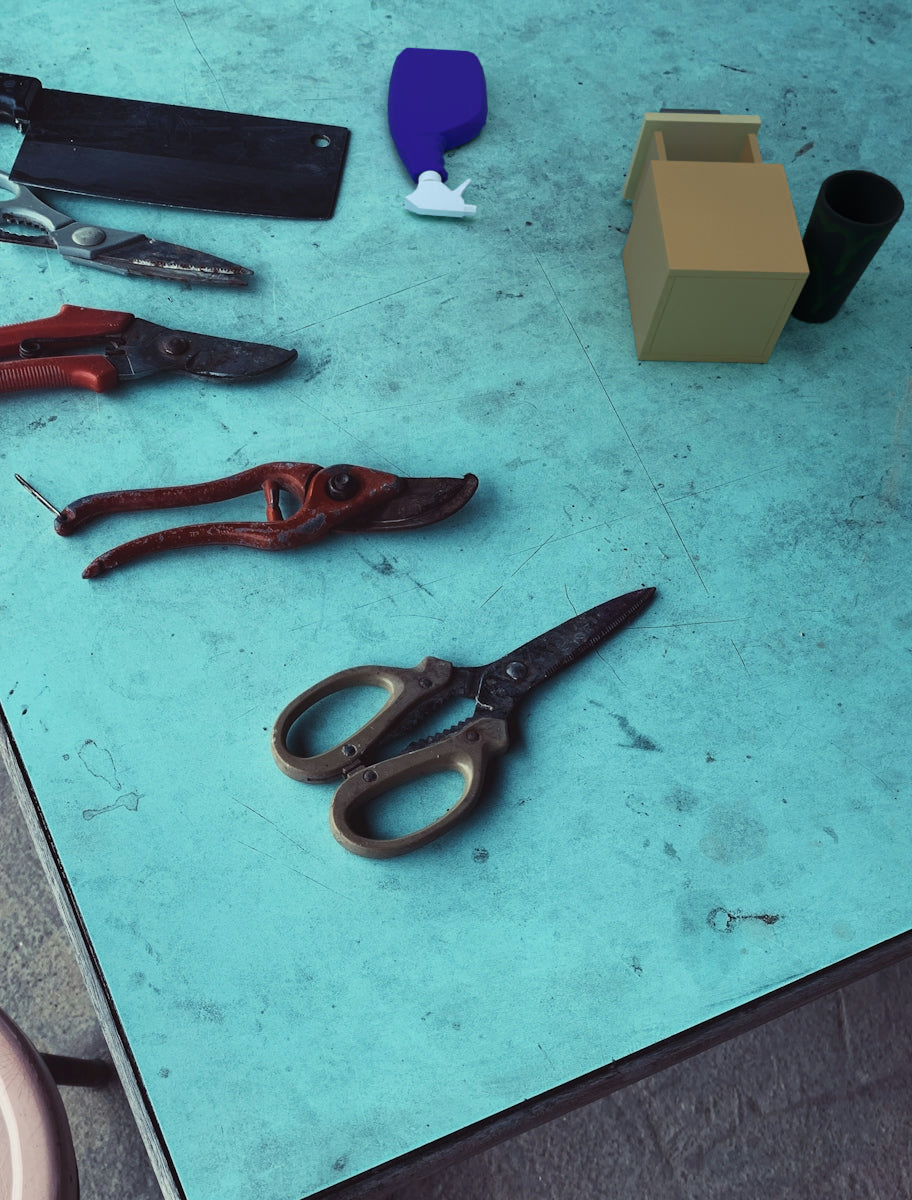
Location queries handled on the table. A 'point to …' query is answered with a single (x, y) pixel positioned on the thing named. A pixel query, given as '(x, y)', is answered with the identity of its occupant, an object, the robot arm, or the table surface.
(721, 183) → the cabinet
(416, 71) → the spray bottle
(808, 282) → the cup
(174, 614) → the table surface
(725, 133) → the drawer
